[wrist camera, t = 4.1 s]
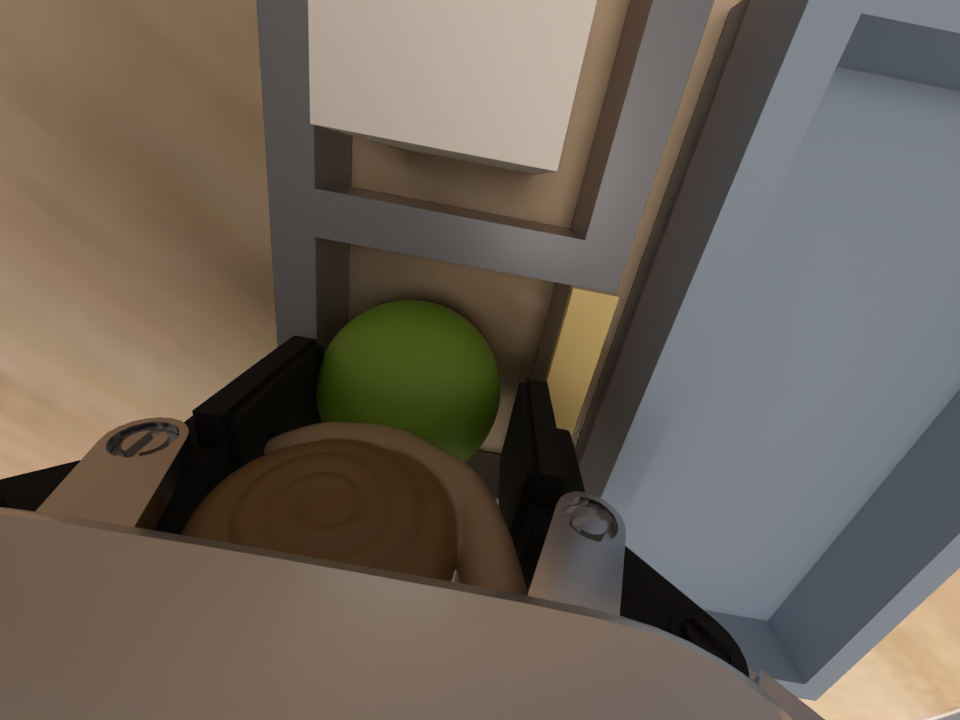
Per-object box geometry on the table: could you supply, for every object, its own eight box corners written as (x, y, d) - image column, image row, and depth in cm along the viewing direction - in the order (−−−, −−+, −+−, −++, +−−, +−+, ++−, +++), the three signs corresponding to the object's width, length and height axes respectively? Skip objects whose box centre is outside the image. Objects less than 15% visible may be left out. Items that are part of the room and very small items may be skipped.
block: (415, -27, 10) (303, -281, 4) (569, 4, 10) (645, -209, 4) (402, 149, 12) (309, 123, 6) (533, 174, 12) (557, 171, 6)
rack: (307, -199, 9) (223, -358, 6) (715, -114, 9) (800, -233, 6) (318, 564, 20) (290, 620, 17) (498, 595, 20) (496, 655, 17)
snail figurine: (507, 431, 16) (513, 1009, 5) (350, 398, 15) (-20, 929, 4) (545, 306, 13) (728, 878, 2) (361, 264, 13) (-354, 695, 2)
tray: (730, 8, 10) (839, -74, 6) (1183, 101, 10) (1502, 64, 7) (531, 574, 19) (535, 653, 16) (764, 615, 19) (815, 700, 16)
